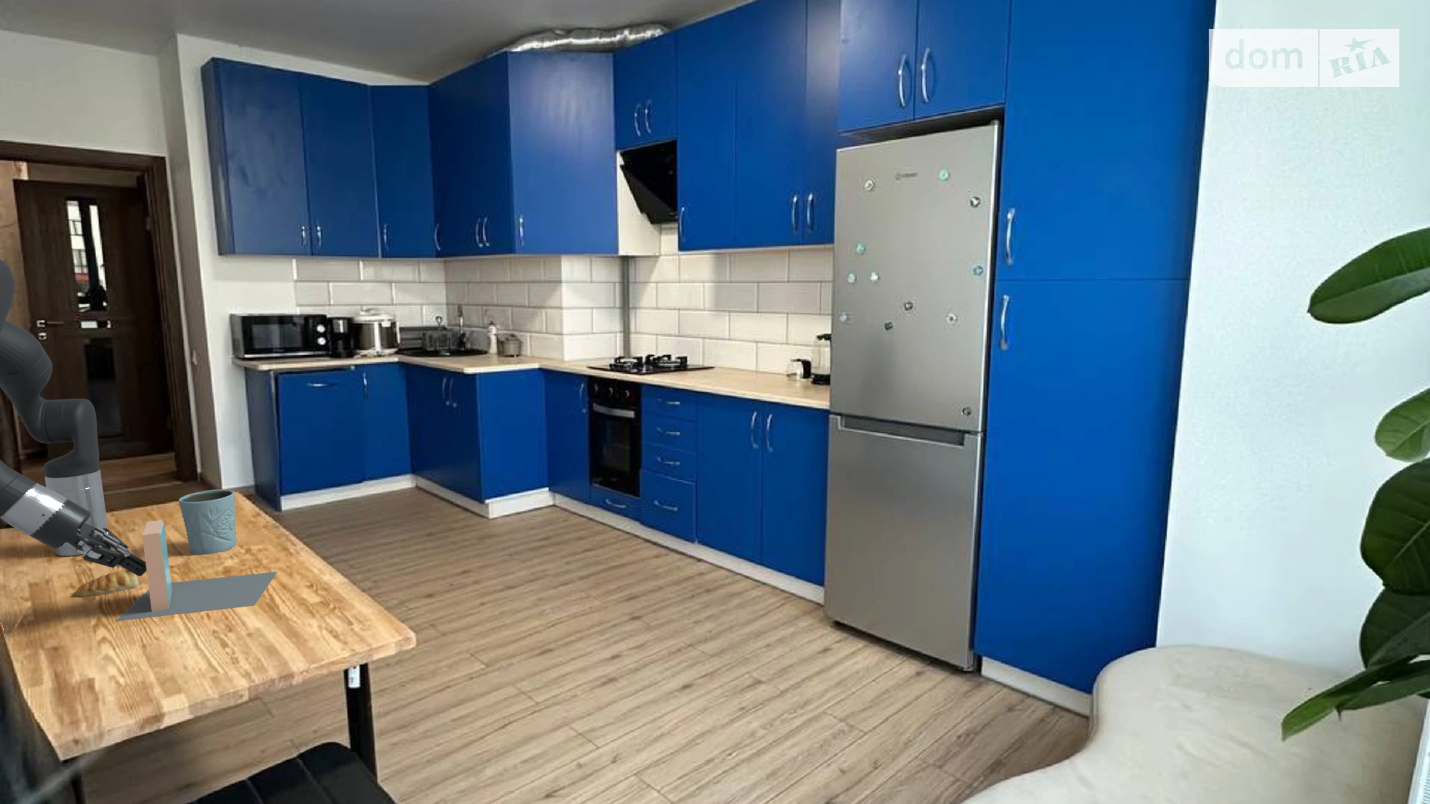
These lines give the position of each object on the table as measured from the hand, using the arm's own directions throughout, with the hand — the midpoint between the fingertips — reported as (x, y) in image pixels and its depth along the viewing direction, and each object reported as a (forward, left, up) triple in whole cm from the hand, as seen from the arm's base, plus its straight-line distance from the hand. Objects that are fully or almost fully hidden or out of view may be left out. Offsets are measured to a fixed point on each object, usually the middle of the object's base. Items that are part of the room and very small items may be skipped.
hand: (145, 570), depth 137 cm
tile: (0, +2, -6) cm, 6 cm away
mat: (-2, +8, -7) cm, 11 cm away
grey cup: (-32, +1, -7) cm, 33 cm away
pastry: (-11, -10, -7) cm, 16 cm away
